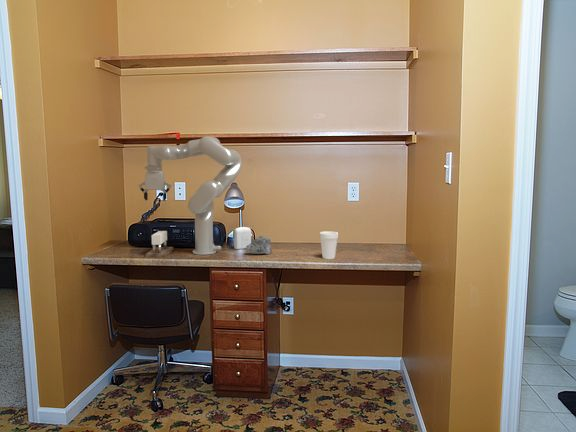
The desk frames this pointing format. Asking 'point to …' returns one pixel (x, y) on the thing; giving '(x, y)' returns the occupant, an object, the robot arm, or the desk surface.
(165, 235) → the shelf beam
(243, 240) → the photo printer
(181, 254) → the desk surface
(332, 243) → the foam cup
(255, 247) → the mineral rock
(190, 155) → the robot arm
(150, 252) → the peg stand
